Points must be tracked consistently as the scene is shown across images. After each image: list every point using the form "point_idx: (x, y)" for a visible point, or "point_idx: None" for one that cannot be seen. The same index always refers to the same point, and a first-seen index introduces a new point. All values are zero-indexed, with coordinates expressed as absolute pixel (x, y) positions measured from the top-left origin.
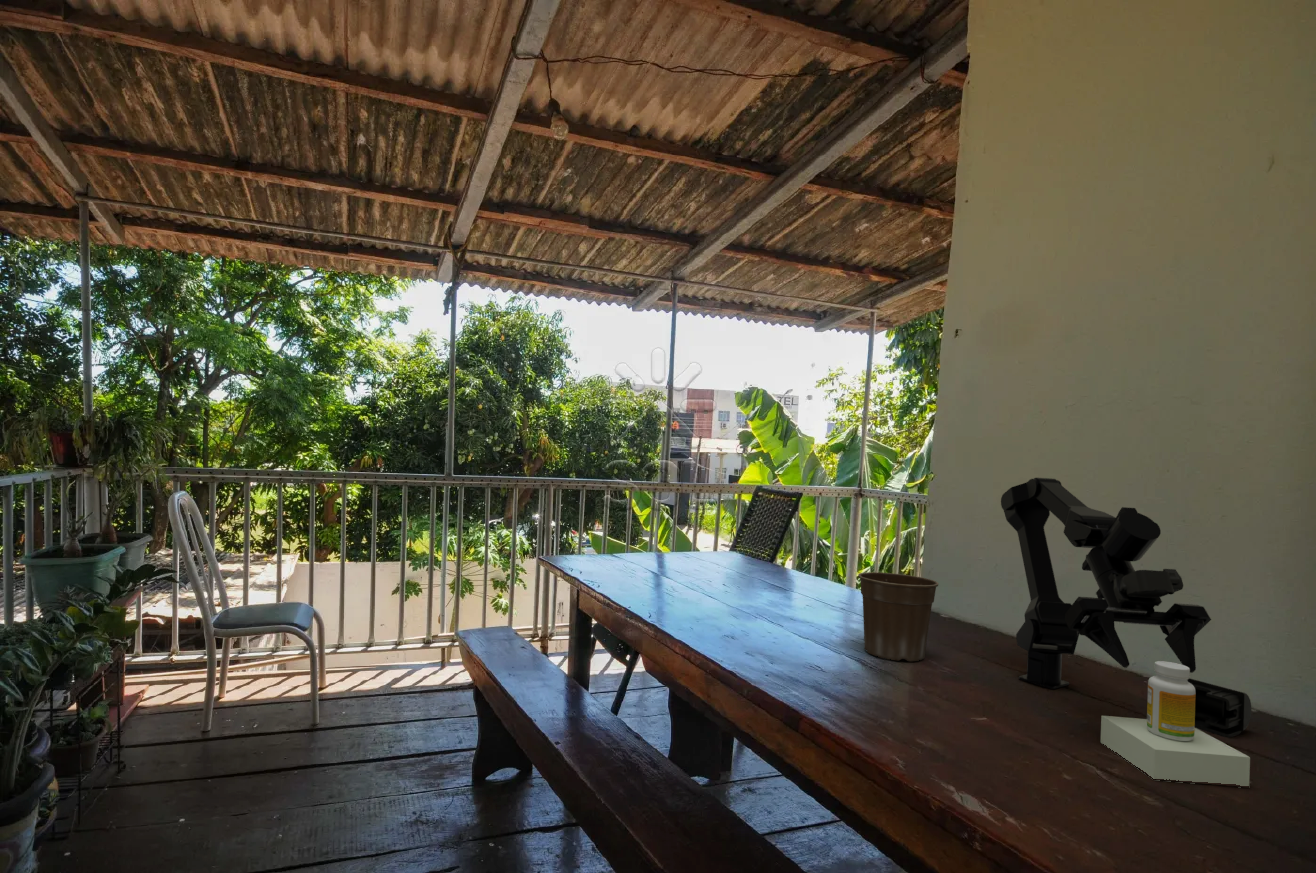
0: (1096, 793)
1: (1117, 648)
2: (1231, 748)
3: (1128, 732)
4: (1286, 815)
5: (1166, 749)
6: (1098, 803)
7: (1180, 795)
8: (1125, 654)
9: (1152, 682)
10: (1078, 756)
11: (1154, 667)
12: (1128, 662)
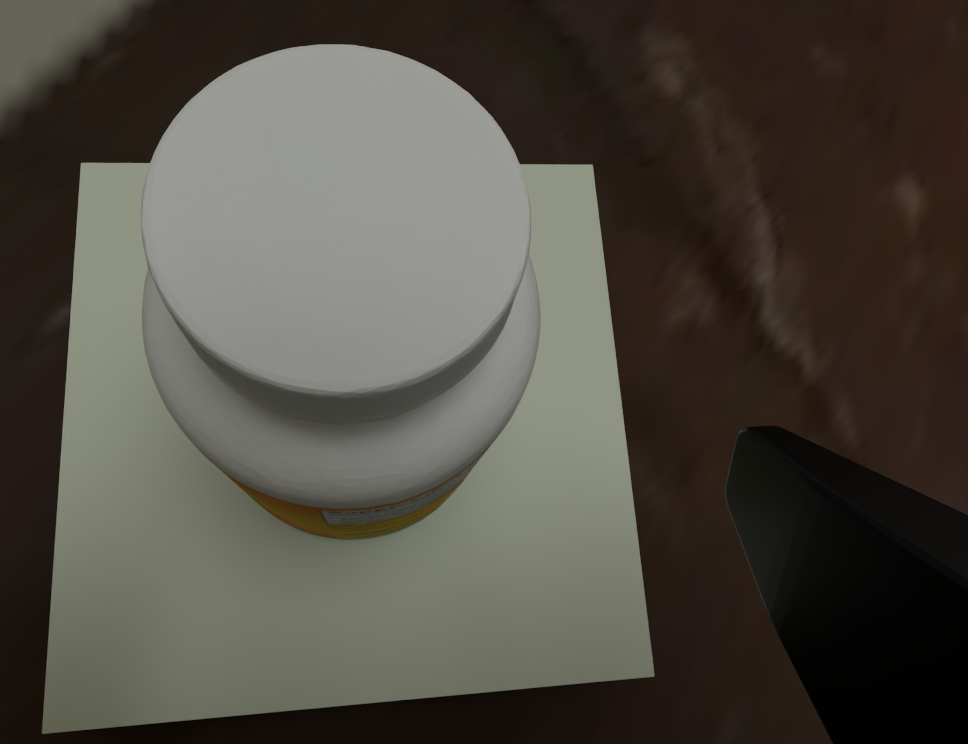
0: (844, 81)
1: (964, 517)
2: (88, 274)
3: (618, 381)
4: (180, 25)
5: (528, 174)
6: (864, 14)
7: (522, 118)
8: (824, 474)
9: (536, 298)
10: (793, 421)
11: (508, 313)
12: (762, 427)
